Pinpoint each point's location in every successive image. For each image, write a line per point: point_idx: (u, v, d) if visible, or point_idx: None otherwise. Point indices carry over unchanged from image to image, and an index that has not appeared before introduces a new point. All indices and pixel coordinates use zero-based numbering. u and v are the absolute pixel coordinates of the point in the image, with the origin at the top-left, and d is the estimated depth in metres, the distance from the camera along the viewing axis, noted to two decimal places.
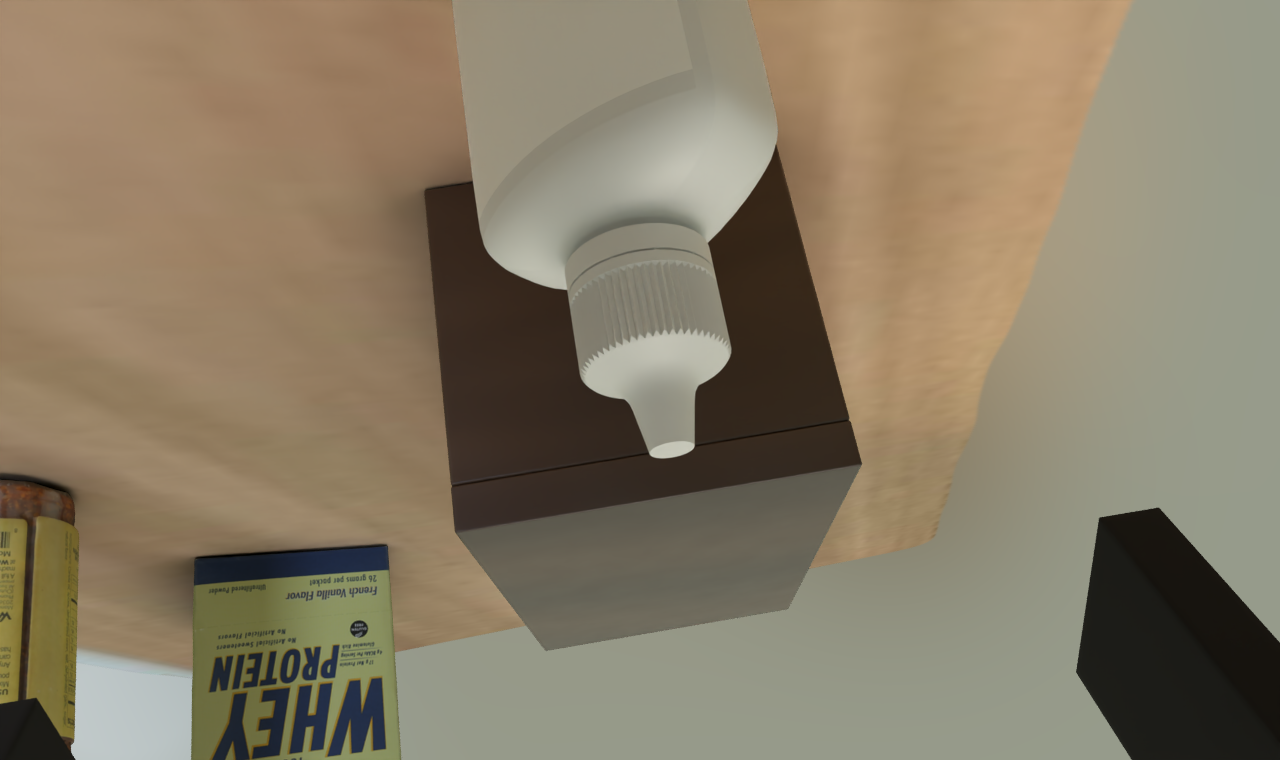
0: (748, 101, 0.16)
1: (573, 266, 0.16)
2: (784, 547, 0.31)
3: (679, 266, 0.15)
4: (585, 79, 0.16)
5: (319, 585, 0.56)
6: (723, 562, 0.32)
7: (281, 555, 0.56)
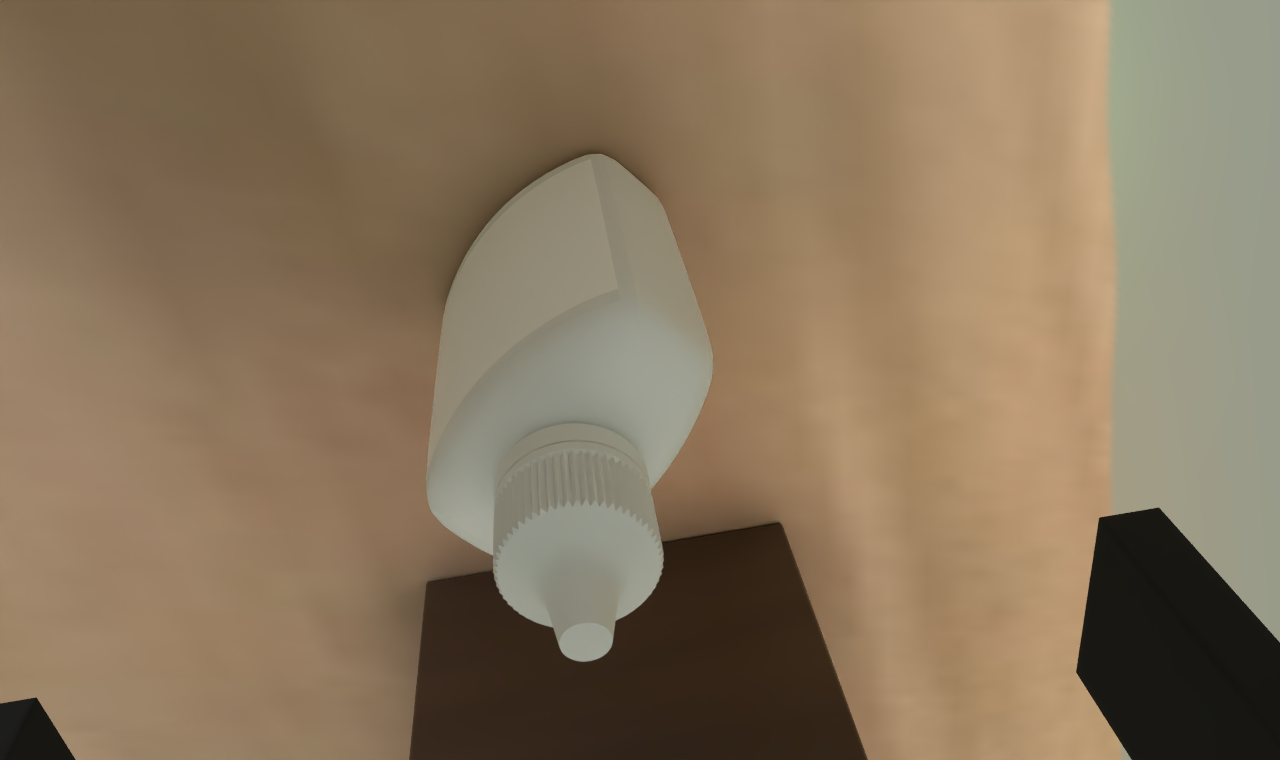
0: (676, 320, 0.16)
1: (500, 478, 0.15)
2: None
3: (602, 457, 0.15)
4: (524, 319, 0.17)
5: None
6: None
7: None
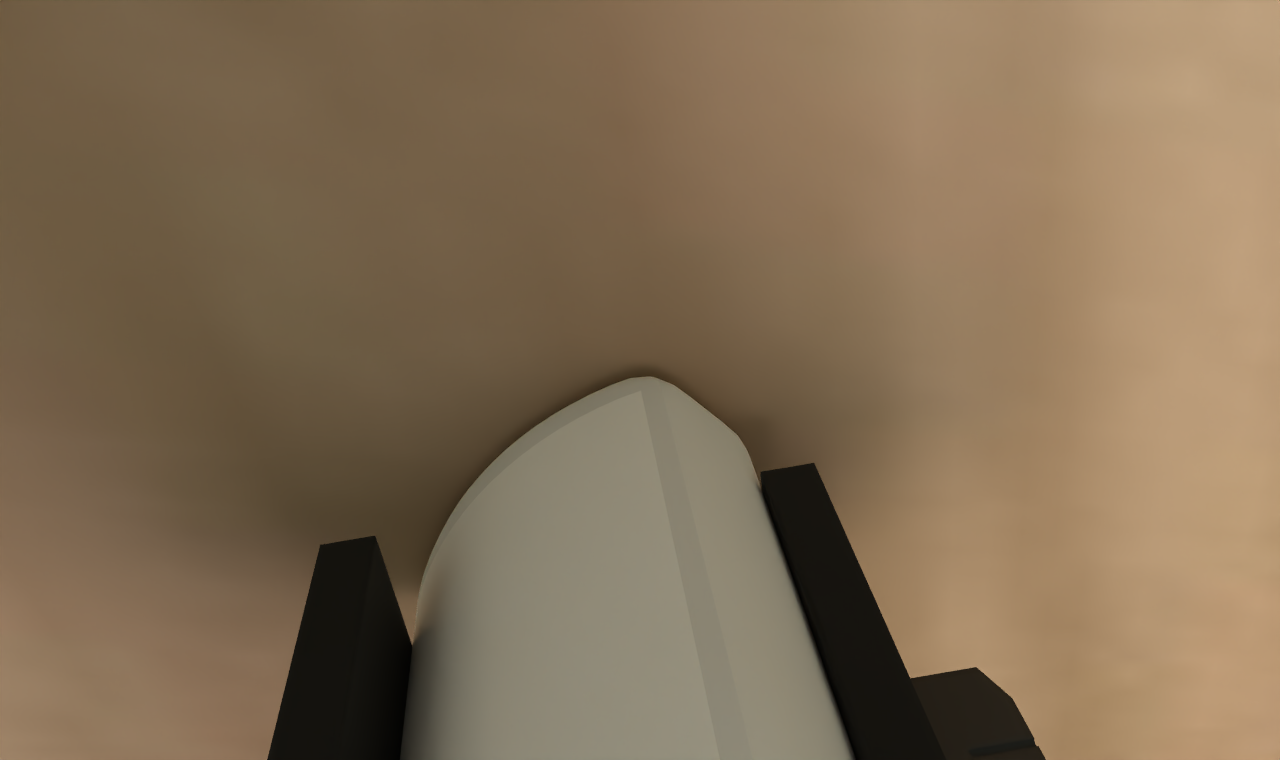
0: None
1: None
2: None
3: None
4: None
5: None
6: None
7: None
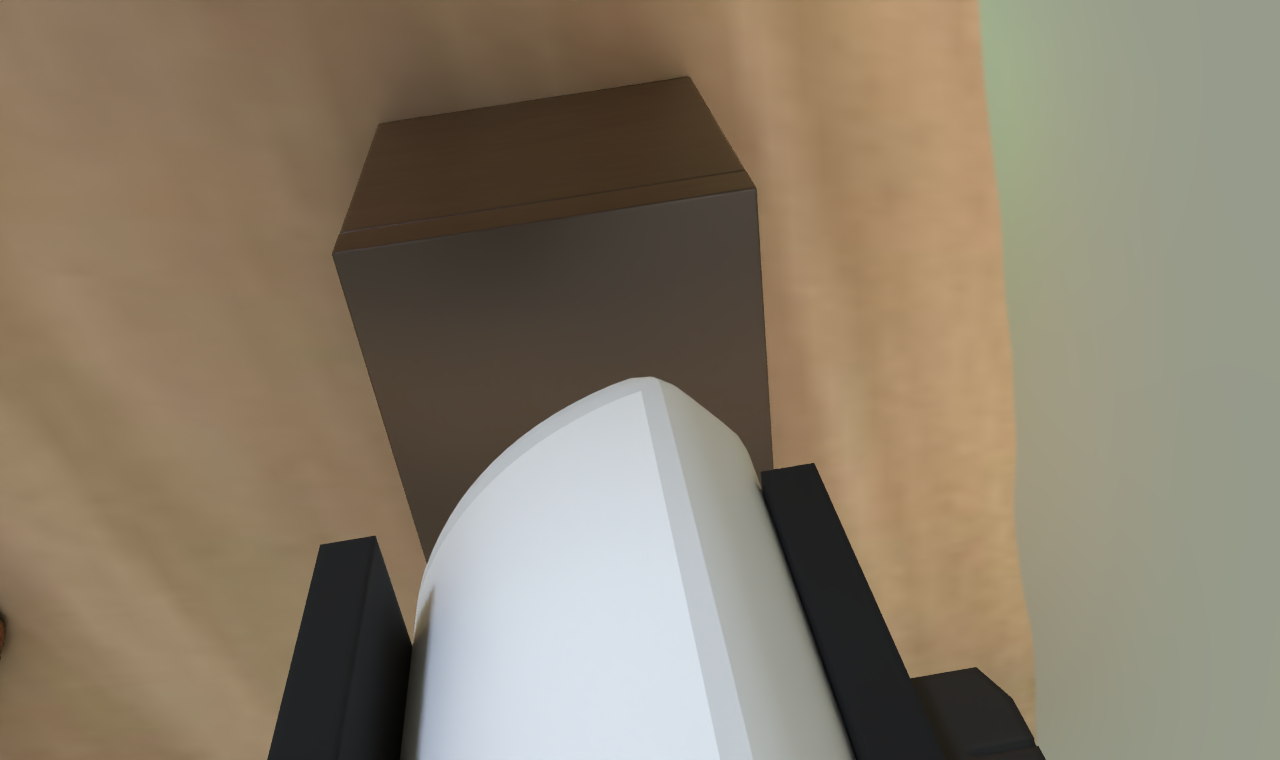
0: None
1: None
2: None
3: None
4: None
5: None
6: None
7: None
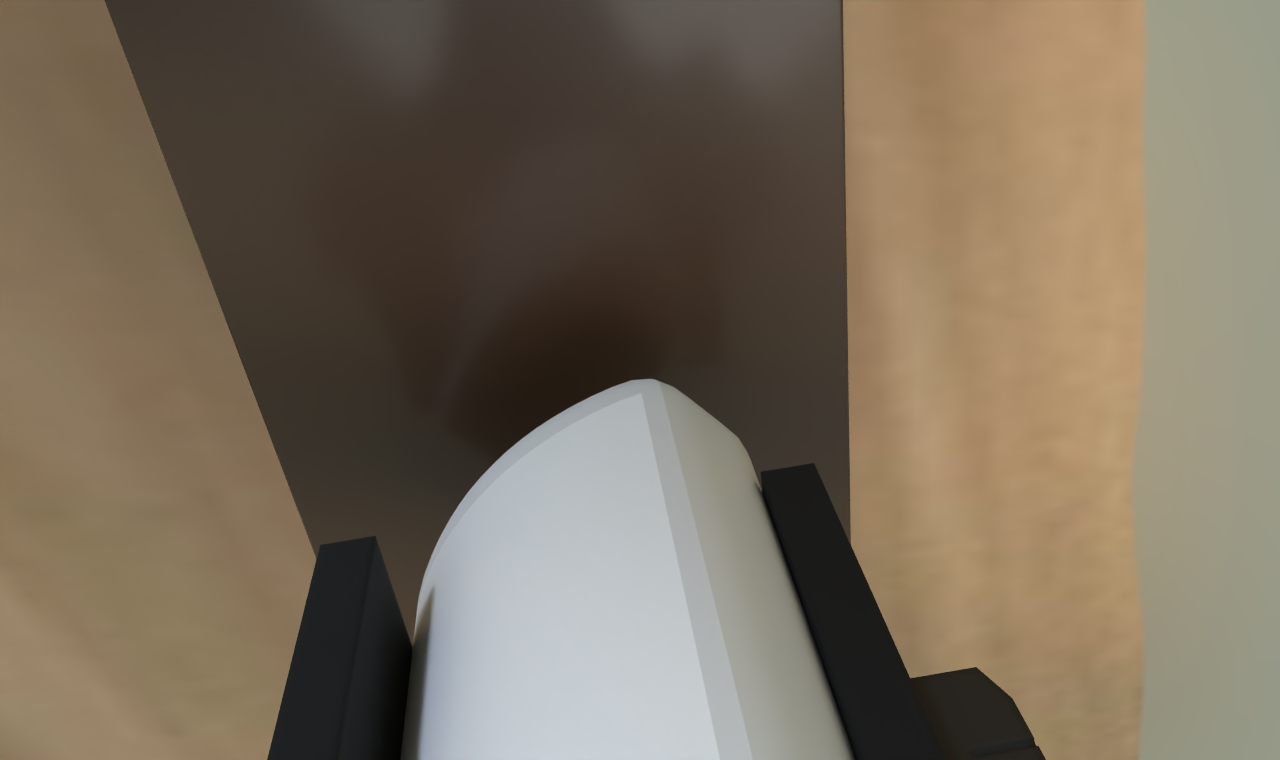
0: None
1: None
2: (775, 304, 0.17)
3: None
4: None
5: None
6: (668, 354, 0.17)
7: None
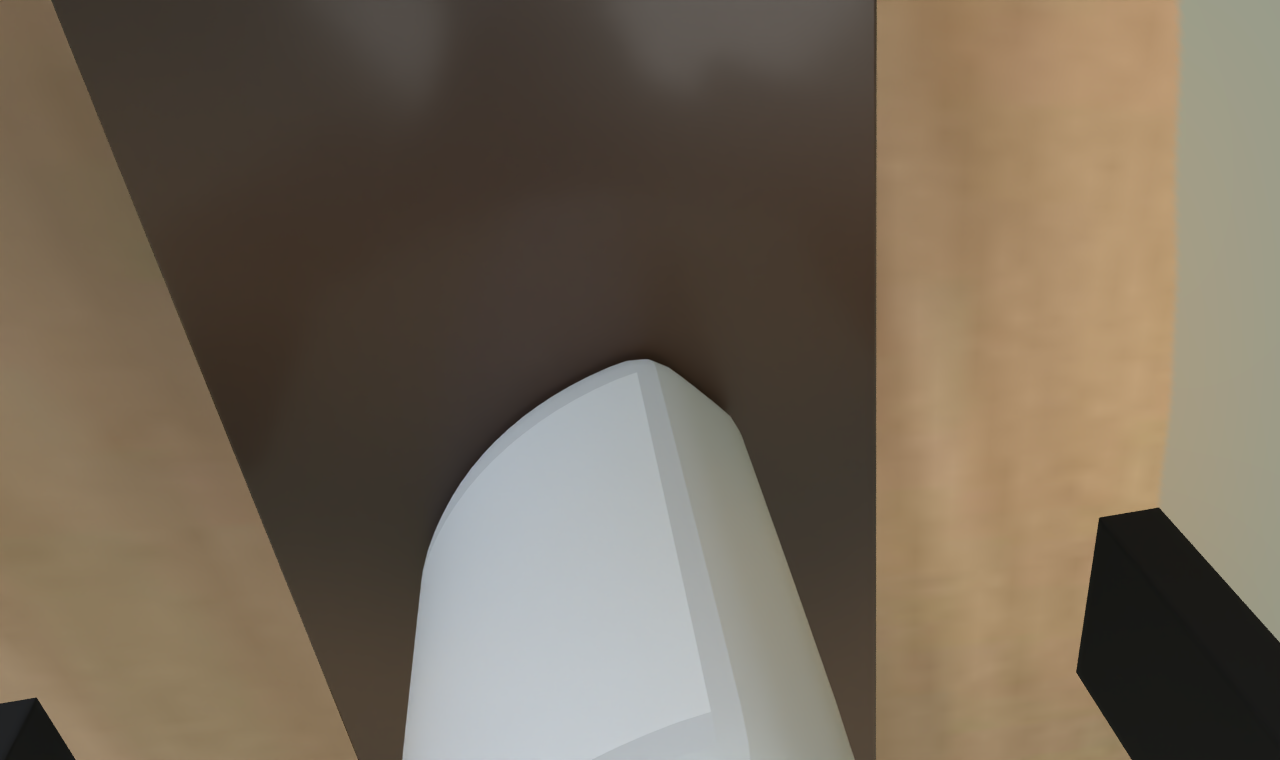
0: None
1: None
2: (799, 355, 0.16)
3: None
4: (545, 732, 0.10)
5: None
6: None
7: None
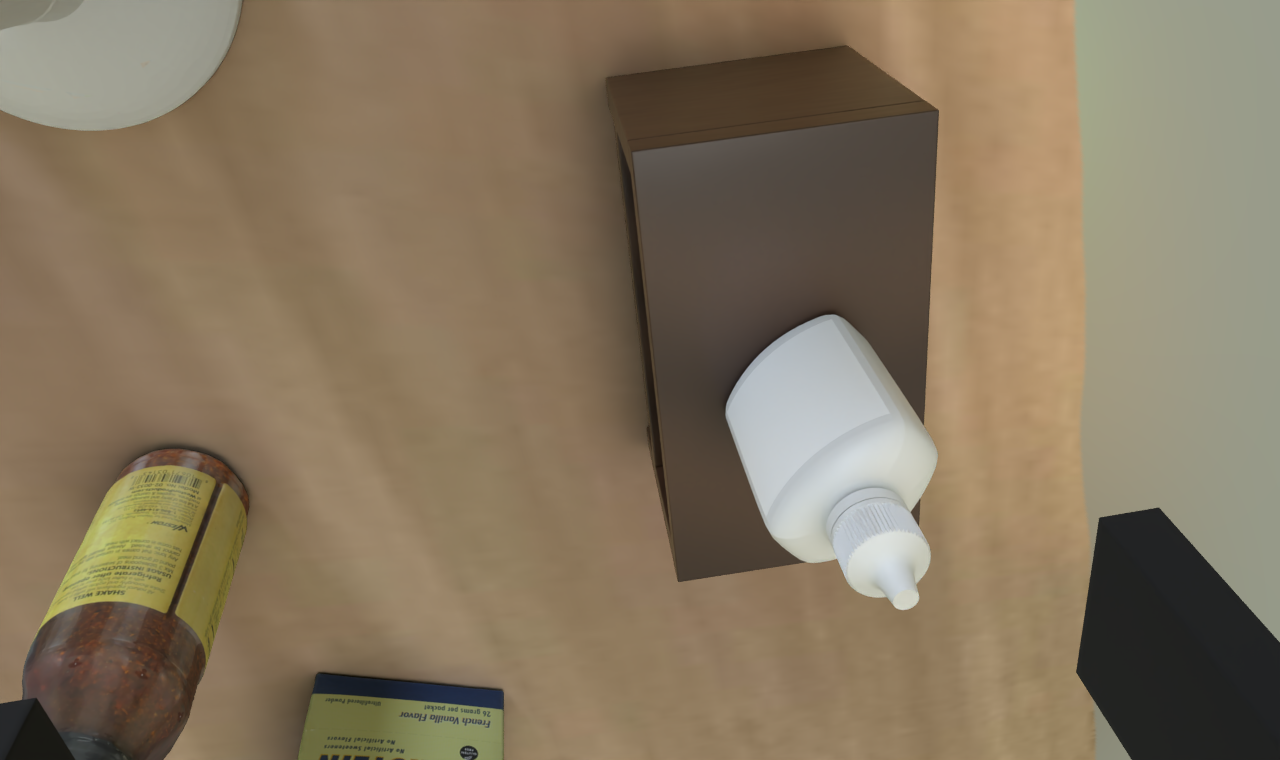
0: (920, 431, 0.30)
1: (833, 516, 0.29)
2: (896, 314, 0.36)
3: (895, 506, 0.28)
4: (830, 427, 0.30)
5: (433, 710, 0.54)
6: None
7: (399, 682, 0.55)
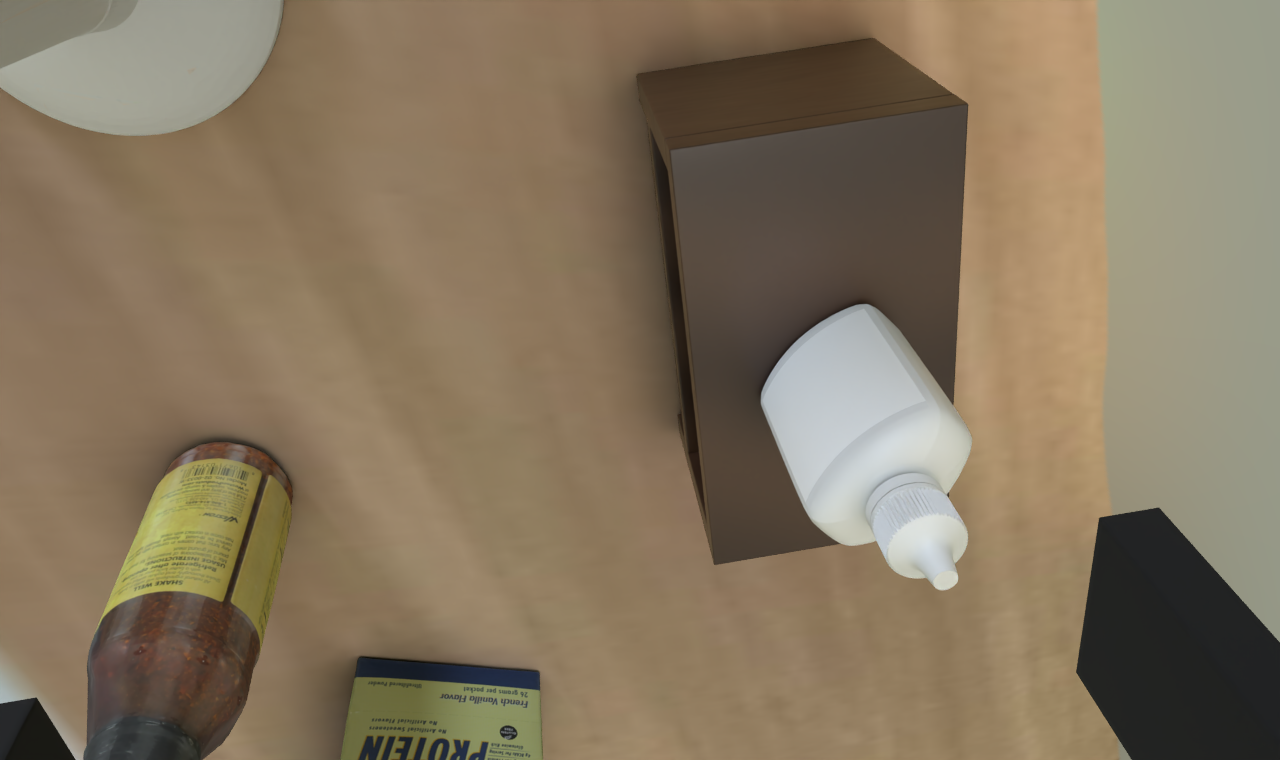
0: (955, 417, 0.31)
1: (872, 501, 0.30)
2: (926, 303, 0.37)
3: (933, 490, 0.29)
4: (867, 414, 0.31)
5: (472, 691, 0.55)
6: None
7: (438, 665, 0.57)
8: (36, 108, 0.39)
